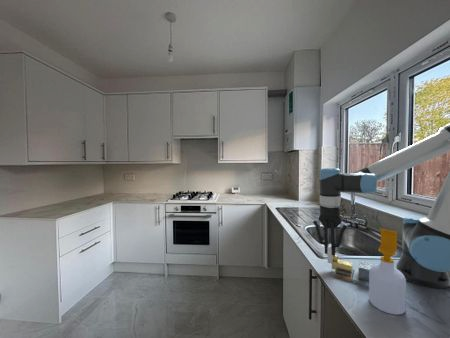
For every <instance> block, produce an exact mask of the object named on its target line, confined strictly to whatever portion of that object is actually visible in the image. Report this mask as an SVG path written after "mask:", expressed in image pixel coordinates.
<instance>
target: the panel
mask: <svg viewBox="0 0 450 338" xmlns="http://www.w3.org/2000/svg"><path fill="white" fill-rule="evenodd" d="M334 278H335V279H340V280H343V281H346V282H350V283H352V284H353V283H354V284H356V285H361V286H364V287H368V288H369V282H367V281H363V280H359V269H356V268H355V269H354V268H353V270H352V274H351V277H348V276H344V275H341V274H337V273H335V272H334Z"/></svg>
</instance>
